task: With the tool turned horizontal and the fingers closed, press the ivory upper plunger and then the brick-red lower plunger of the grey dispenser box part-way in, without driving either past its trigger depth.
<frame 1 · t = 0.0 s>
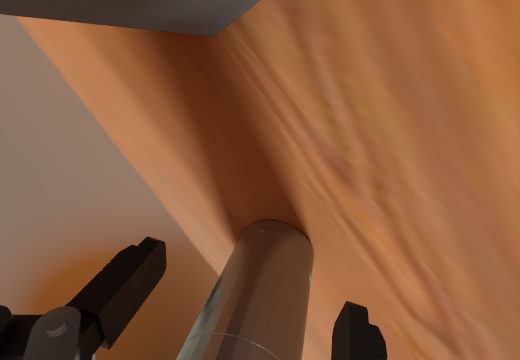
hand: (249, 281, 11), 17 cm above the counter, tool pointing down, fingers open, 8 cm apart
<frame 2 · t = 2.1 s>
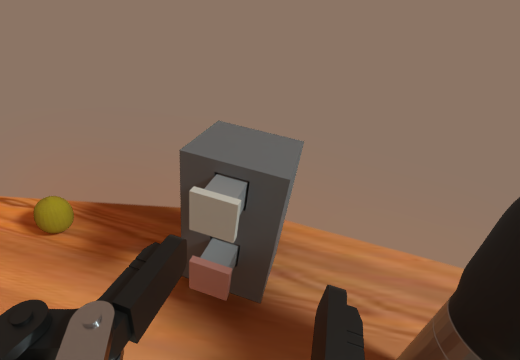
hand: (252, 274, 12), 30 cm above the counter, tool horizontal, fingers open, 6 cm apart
lower plunger: (221, 256, 39), point 9 cm above the counter, slide at 0.0 cm
lemon: (60, 232, 50), on the counter
upper plunger: (227, 196, 33), point 20 cm above the counter, slide at 0.0 cm
grey dispenser box: (232, 262, 50), on the counter
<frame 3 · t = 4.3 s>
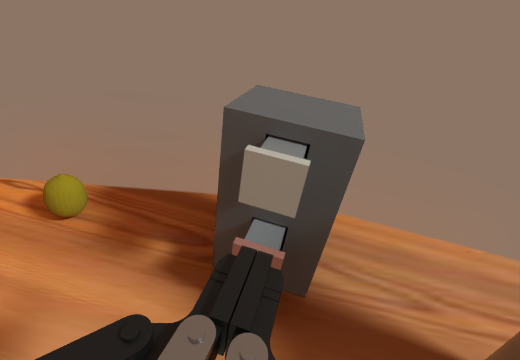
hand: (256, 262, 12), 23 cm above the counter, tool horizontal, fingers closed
lower plunger: (265, 241, 33), point 9 cm above the counter, slide at 0.0 cm
lemon: (72, 217, 44), on the counter
upper plunger: (281, 163, 27), point 20 cm above the counter, slide at 0.0 cm
grey dispenser box: (267, 251, 44), on the counter
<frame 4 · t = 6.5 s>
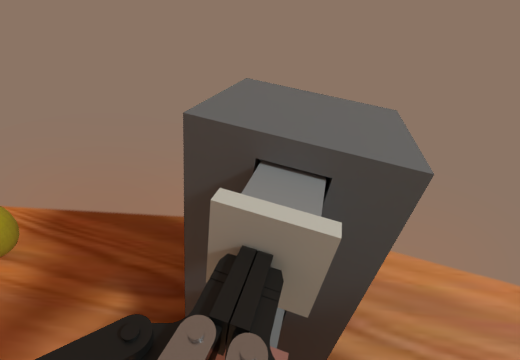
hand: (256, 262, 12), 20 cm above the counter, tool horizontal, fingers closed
lower plunger: (256, 313, 22), point 9 cm above the counter, slide at 0.0 cm
upper plunger: (282, 207, 16), point 20 cm above the counter, slide at 0.1 cm, touching gripper
grey dispenser box: (262, 303, 32), on the counter
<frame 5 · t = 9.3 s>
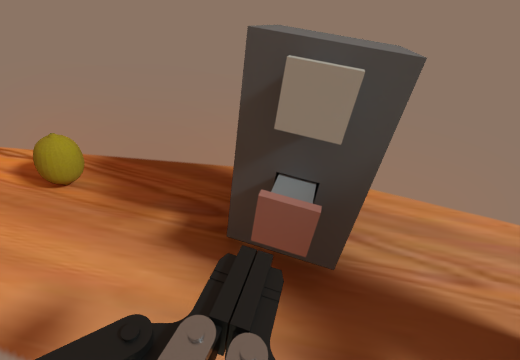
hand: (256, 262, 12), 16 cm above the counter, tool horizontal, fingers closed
lower plunger: (291, 200, 28), point 9 cm above the counter, slide at 0.0 cm
lemon: (67, 185, 39), on the counter
upper plunger: (320, 90, 24), point 20 cm above the counter, slide at 2.0 cm
grey dispenser box: (287, 223, 39), on the counter
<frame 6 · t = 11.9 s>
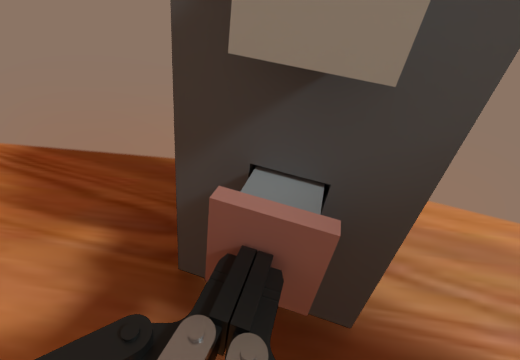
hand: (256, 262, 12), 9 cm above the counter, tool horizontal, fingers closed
lower plunger: (281, 206, 16), point 9 cm above the counter, slide at 1.0 cm, touching gripper
grey dispenser box: (276, 244, 26), on the counter
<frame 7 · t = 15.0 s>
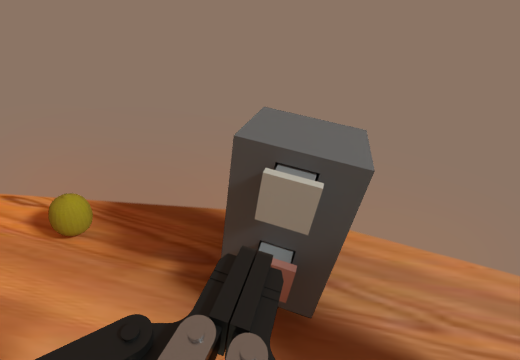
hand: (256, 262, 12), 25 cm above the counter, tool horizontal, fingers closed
lower plunger: (275, 253, 35), point 9 cm above the counter, slide at 2.0 cm
lemon: (77, 235, 44), on the counter
upper plunger: (294, 182, 29), point 20 cm above the counter, slide at 2.0 cm
grey dispenser box: (272, 270, 44), on the counter
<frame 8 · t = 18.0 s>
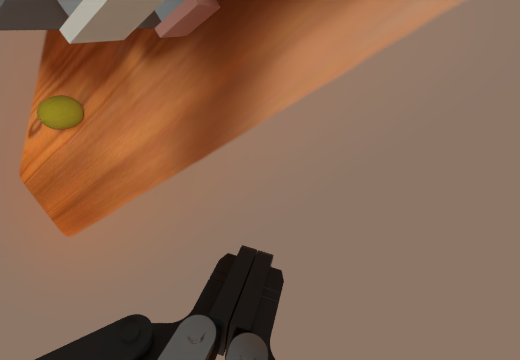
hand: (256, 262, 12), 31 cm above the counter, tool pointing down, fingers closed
lemon: (81, 106, 50), on the counter
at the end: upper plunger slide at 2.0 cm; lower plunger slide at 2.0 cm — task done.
